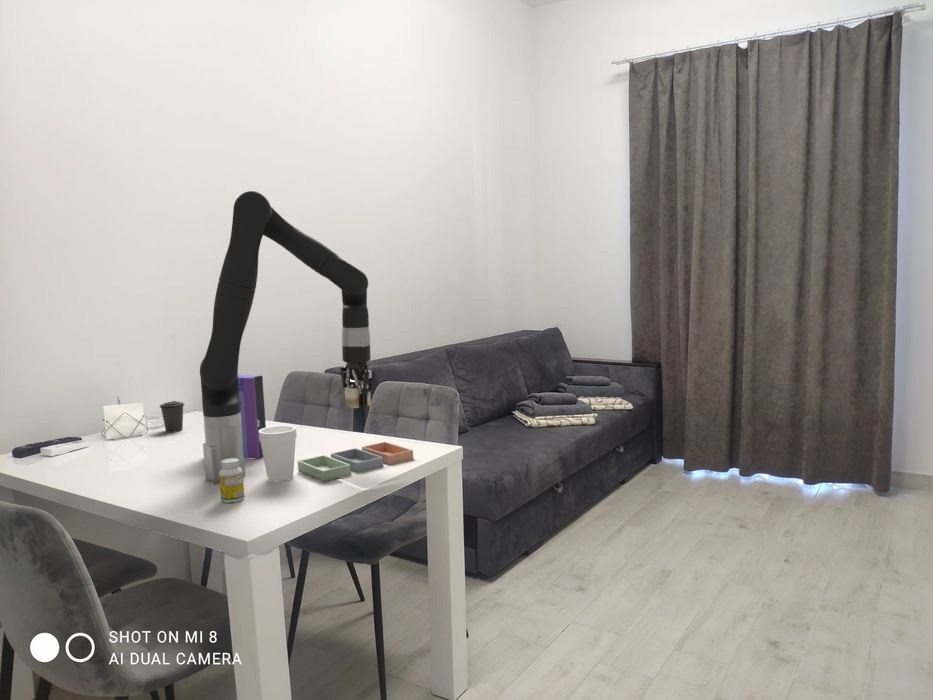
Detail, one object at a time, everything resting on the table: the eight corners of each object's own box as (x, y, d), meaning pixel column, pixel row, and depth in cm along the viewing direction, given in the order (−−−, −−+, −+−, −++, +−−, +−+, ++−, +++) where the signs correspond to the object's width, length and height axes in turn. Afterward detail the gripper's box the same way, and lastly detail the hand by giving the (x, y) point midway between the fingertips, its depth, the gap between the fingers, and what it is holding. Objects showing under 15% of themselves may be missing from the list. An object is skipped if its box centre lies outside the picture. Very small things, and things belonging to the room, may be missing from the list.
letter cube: (354, 408, 188) (354, 389, 187) (345, 405, 192) (344, 386, 191) (370, 405, 191) (370, 387, 191) (360, 403, 195) (360, 384, 194)
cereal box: (207, 456, 208) (201, 376, 205) (217, 452, 212) (211, 374, 210) (258, 459, 203) (252, 377, 200) (267, 455, 207) (262, 374, 204)
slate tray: (357, 474, 184) (357, 463, 184) (331, 464, 195) (330, 453, 195) (383, 468, 189) (382, 457, 189) (356, 458, 200) (355, 448, 200)
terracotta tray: (389, 466, 191) (389, 455, 190) (362, 457, 201) (361, 446, 201) (413, 460, 196) (412, 450, 195) (385, 451, 206) (385, 441, 206)
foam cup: (296, 471, 189) (293, 423, 188) (301, 480, 181) (298, 431, 179) (260, 475, 186) (256, 427, 184) (263, 485, 177) (260, 435, 176)
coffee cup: (182, 426, 251) (180, 399, 250) (189, 430, 244) (187, 402, 243) (158, 430, 246) (156, 402, 244) (165, 434, 239) (163, 405, 238)
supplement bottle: (243, 502, 165) (240, 462, 164) (219, 504, 164) (216, 464, 163) (245, 495, 170) (243, 456, 169) (222, 497, 169) (219, 458, 168)
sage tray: (323, 482, 178) (323, 471, 177) (298, 471, 188) (297, 460, 188) (351, 475, 183) (350, 464, 183) (324, 465, 194) (324, 455, 193)
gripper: (330, 343, 193) (332, 404, 194) (358, 346, 182) (360, 411, 184) (354, 341, 197) (355, 400, 199) (382, 344, 187) (384, 407, 189)
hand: (357, 405), depth 191 cm, fingers closed on letter cube, 5 cm apart
